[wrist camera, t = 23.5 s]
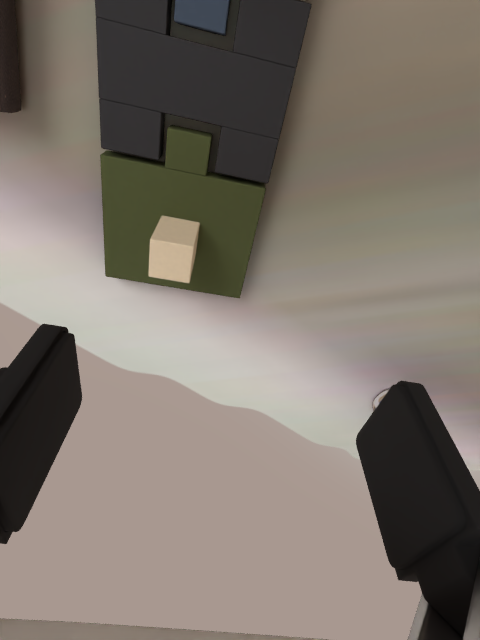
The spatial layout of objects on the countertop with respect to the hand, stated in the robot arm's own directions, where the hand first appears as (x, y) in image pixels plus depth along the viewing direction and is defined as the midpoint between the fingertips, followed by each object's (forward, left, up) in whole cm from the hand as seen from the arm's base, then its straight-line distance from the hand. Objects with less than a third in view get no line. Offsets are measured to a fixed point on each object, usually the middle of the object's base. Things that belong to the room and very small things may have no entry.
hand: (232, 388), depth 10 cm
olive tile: (+4, +3, -21) cm, 21 cm away
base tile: (+4, -6, -21) cm, 22 cm away
